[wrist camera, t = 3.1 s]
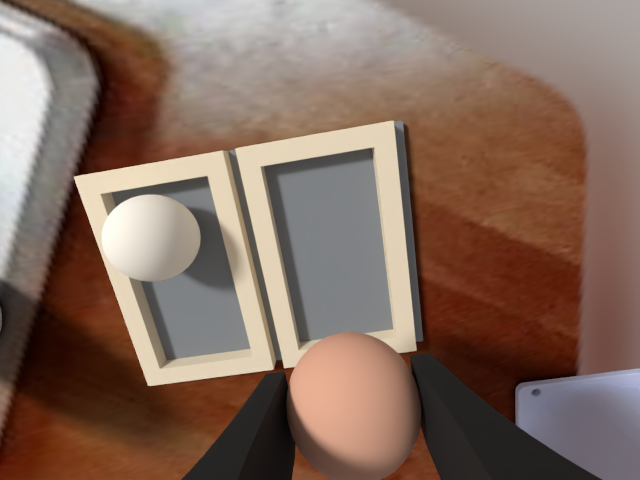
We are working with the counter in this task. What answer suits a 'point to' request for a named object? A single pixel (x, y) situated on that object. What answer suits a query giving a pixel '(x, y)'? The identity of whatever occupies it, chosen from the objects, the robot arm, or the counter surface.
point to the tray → (272, 252)
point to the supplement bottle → (0, 319)
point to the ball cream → (151, 238)
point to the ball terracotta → (353, 407)
